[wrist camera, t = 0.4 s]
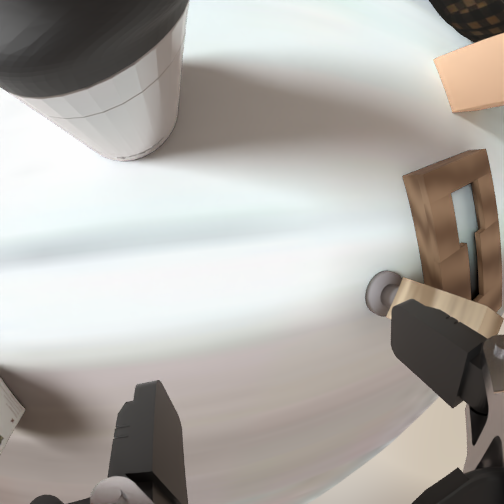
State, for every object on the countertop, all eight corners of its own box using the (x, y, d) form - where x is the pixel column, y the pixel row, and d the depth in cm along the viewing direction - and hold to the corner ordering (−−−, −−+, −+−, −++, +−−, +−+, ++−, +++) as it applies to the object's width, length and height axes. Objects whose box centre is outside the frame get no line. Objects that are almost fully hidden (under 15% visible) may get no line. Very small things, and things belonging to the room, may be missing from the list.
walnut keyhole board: (402, 175, 32) (422, 174, 28) (468, 150, 35) (485, 148, 31) (430, 351, 38) (445, 360, 34) (487, 301, 40) (501, 306, 37)
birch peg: (358, 306, 33) (460, 363, 18) (376, 264, 32) (487, 300, 18) (387, 318, 34) (483, 369, 19) (404, 279, 34) (506, 315, 19)
